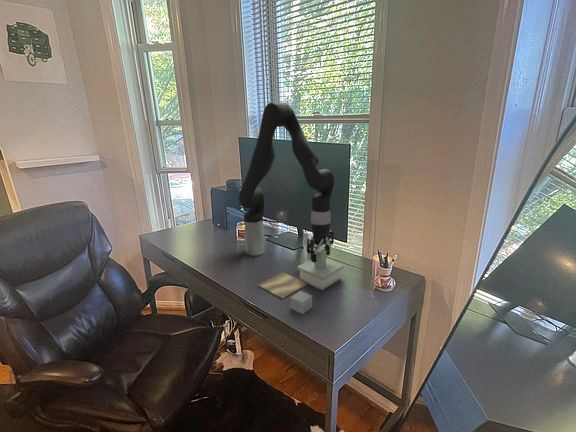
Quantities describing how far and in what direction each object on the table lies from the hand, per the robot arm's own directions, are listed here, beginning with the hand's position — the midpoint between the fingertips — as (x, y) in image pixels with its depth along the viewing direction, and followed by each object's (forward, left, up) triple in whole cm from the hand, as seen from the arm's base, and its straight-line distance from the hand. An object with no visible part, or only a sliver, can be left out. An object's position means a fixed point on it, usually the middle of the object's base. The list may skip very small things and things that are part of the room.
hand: (320, 258), depth 129 cm
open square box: (0, 0, -10) cm, 10 cm away
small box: (+8, -20, -10) cm, 24 cm away
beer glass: (-11, +7, -10) cm, 17 cm away
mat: (-8, -14, -10) cm, 19 cm away
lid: (0, 0, -5) cm, 5 cm away
